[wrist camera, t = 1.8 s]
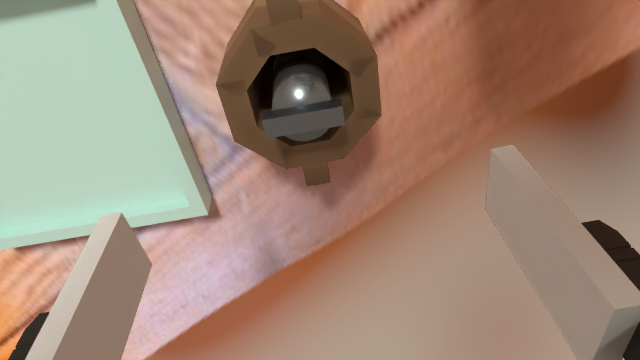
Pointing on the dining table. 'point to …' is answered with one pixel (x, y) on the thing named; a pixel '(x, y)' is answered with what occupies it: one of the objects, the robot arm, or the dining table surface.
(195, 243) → the dining table surface
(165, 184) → the tray
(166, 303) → the dining table surface
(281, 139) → the brown hollow ring piece
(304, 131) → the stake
